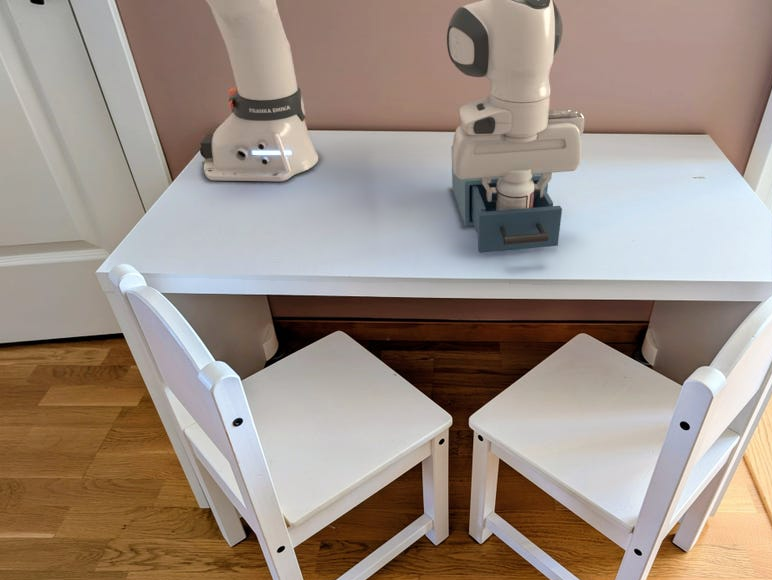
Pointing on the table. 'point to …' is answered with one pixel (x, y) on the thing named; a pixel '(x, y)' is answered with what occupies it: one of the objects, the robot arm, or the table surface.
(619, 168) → the table surface
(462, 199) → the cabinet
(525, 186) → the pill bottle
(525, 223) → the drawer
